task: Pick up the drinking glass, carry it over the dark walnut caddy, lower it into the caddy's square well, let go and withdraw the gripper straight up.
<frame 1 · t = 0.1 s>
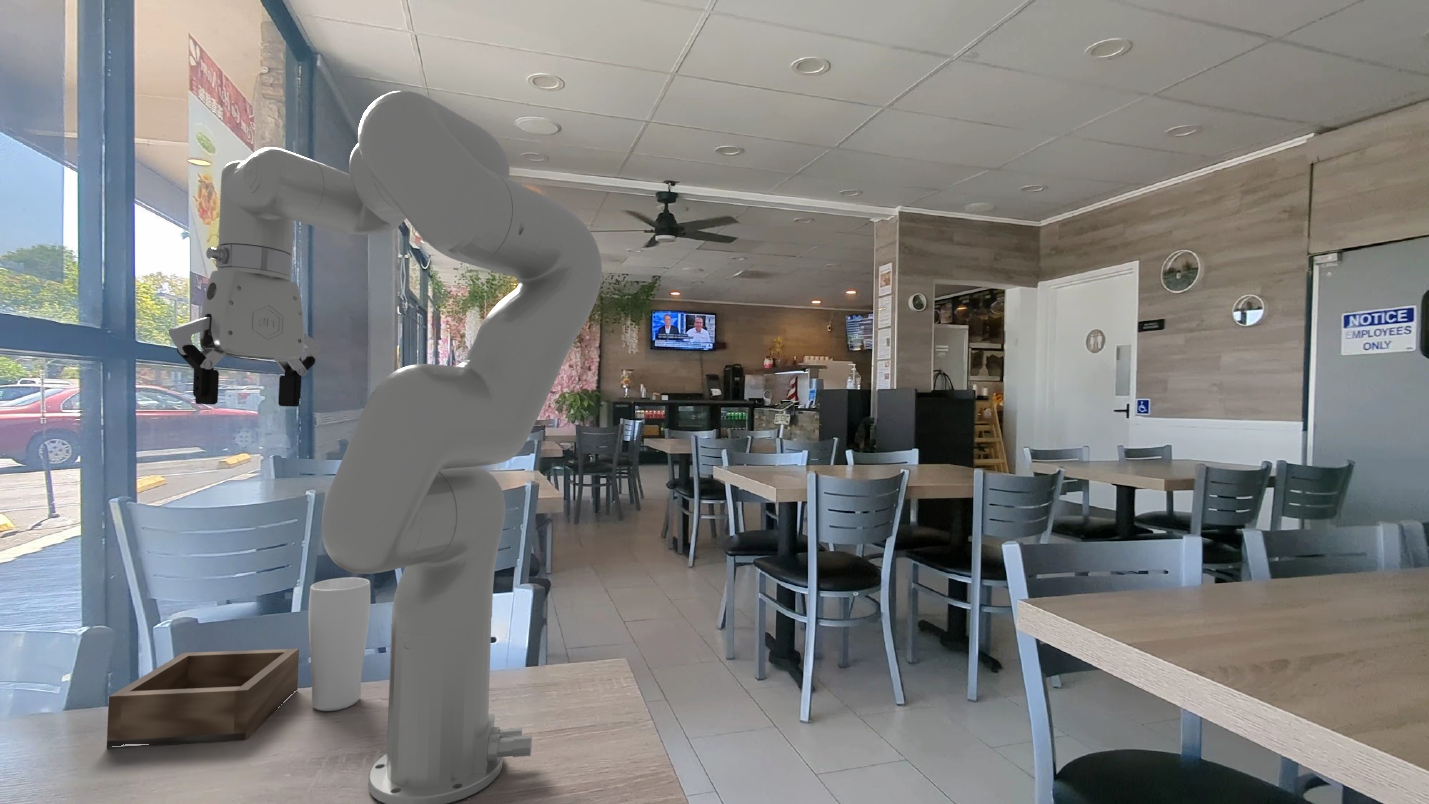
hand: (249, 405, 82), 37 cm above the table, tool pointing down, fingers open, 9 cm apart
drinking glass: (336, 705, 84), on the table
caddy: (211, 716, 80), on the table
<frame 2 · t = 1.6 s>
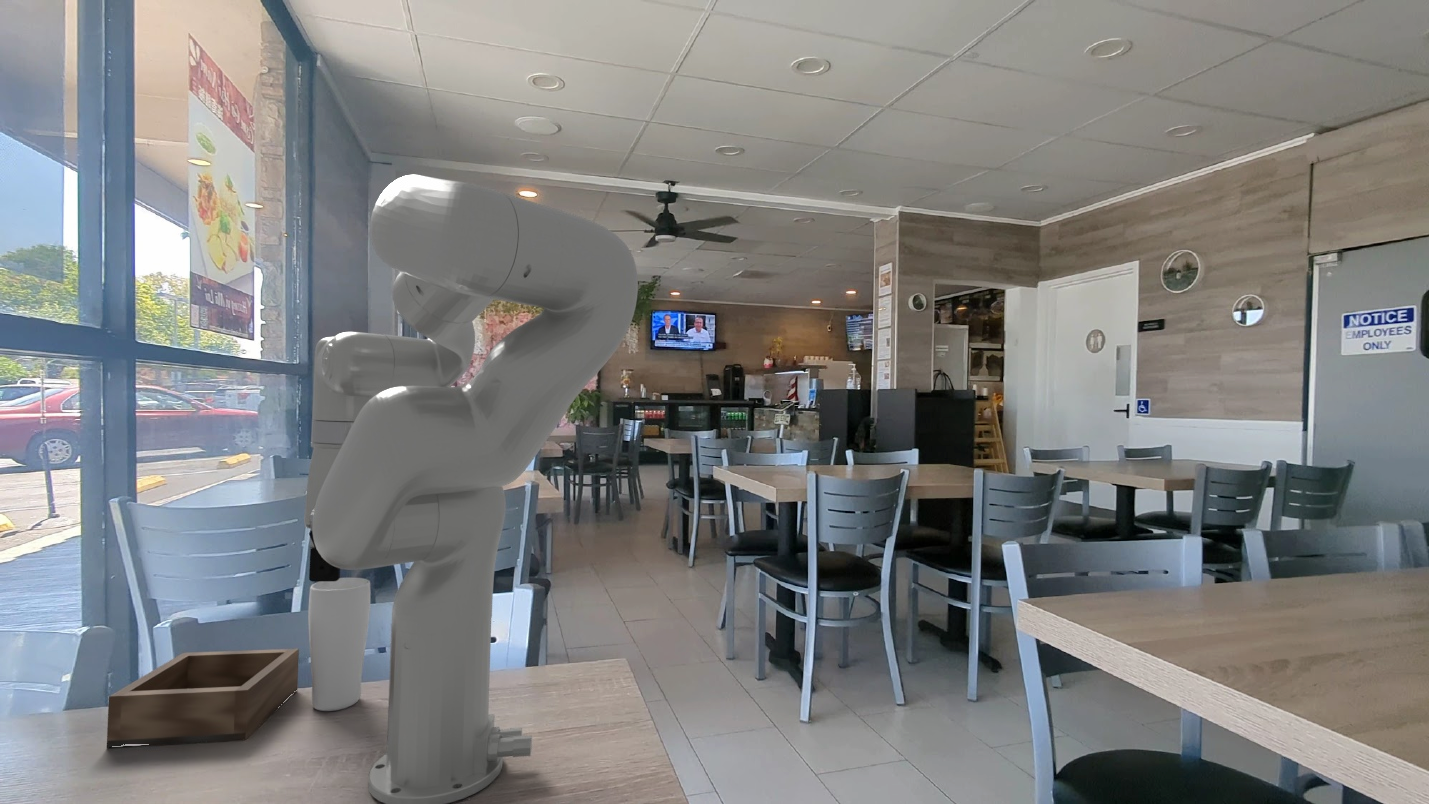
hand: (339, 570, 85), 17 cm above the table, tool pointing down, fingers open, 9 cm apart
nothing on the table moved.
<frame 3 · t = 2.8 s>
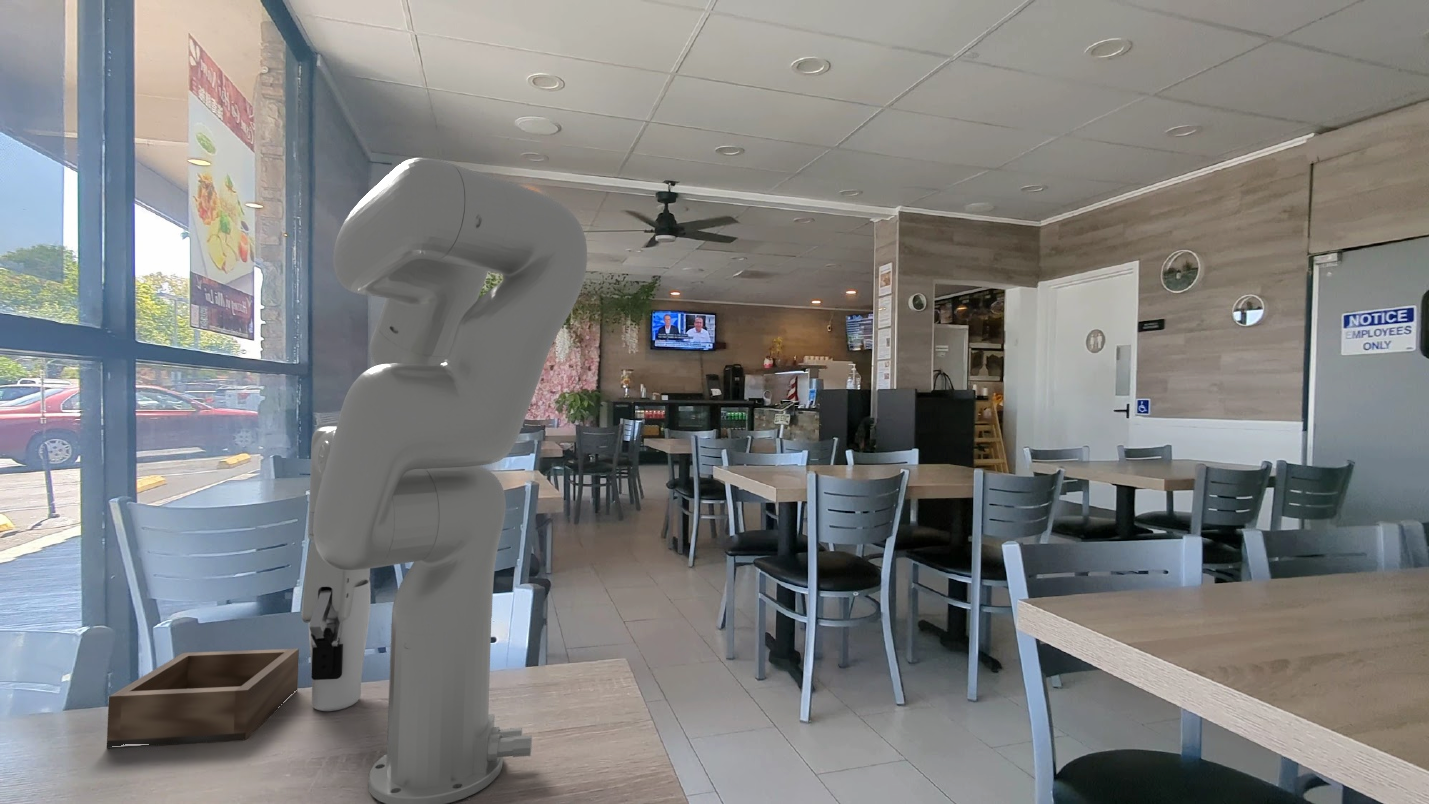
hand: (337, 666, 84), 5 cm above the table, tool pointing down, fingers closed on drinking glass, 6 cm apart
drinking glass: (336, 705, 84), on the table, touching gripper
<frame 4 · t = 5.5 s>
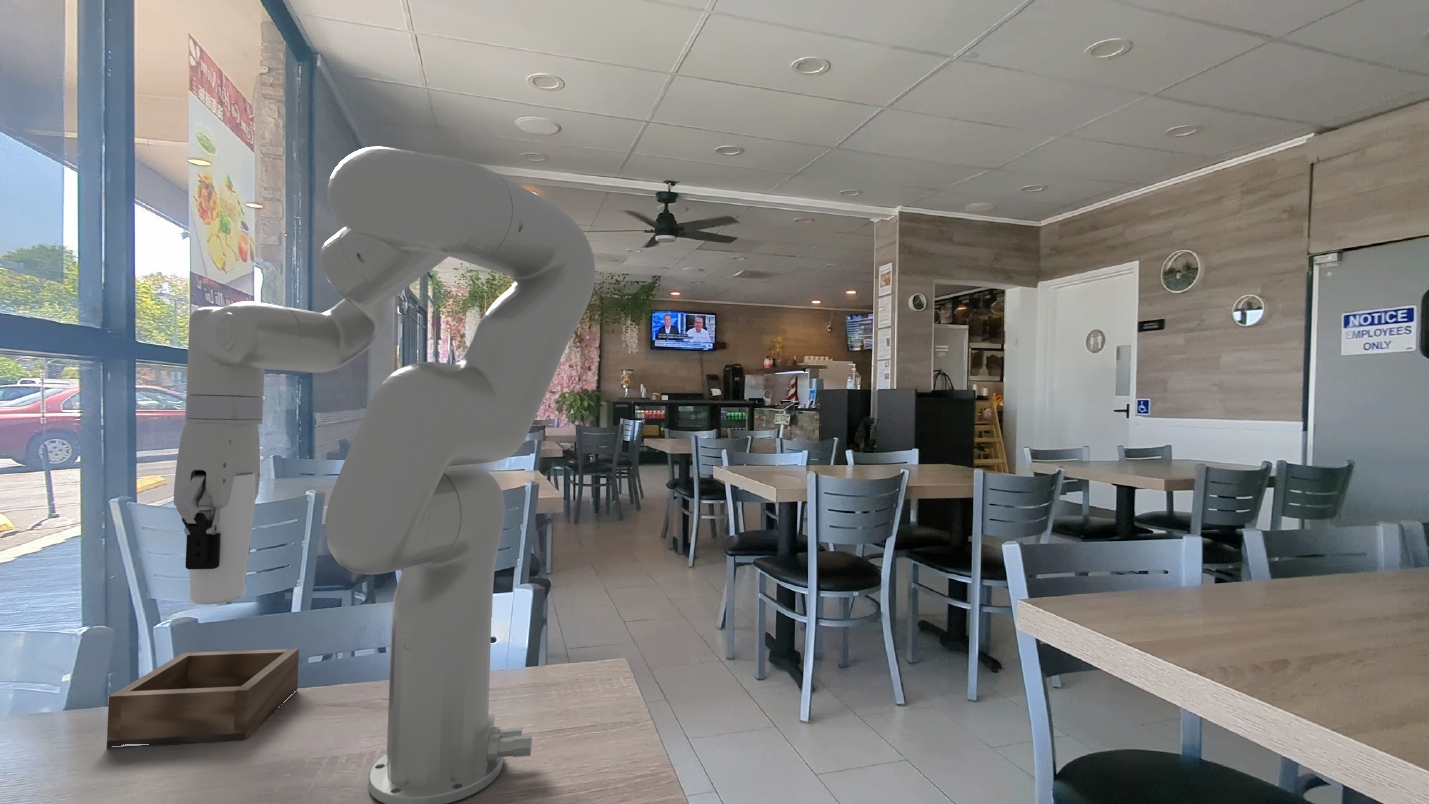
hand: (219, 560, 80), 18 cm above the table, tool pointing down, fingers closed on drinking glass, 6 cm apart
drinking glass: (217, 601, 80), point 14 cm above the table, touching gripper
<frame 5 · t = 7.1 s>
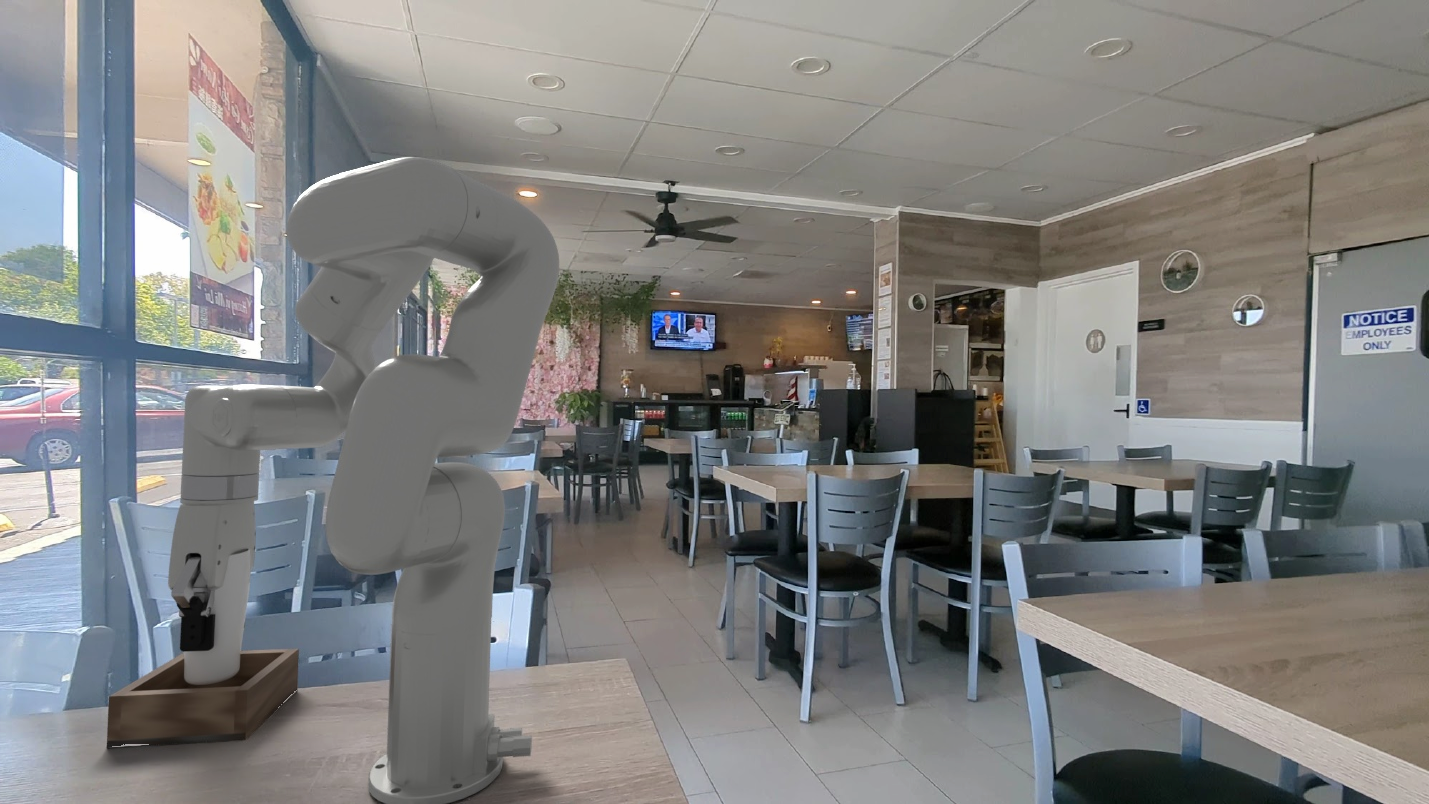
hand: (213, 638, 80), 9 cm above the table, tool pointing down, fingers closed on drinking glass, 6 cm apart
drinking glass: (212, 679, 80), point 4 cm above the table, touching gripper
when the fingers open (6 cm above the table, at t = 8.2 s): drinking glass stays where it is, resting on caddy.
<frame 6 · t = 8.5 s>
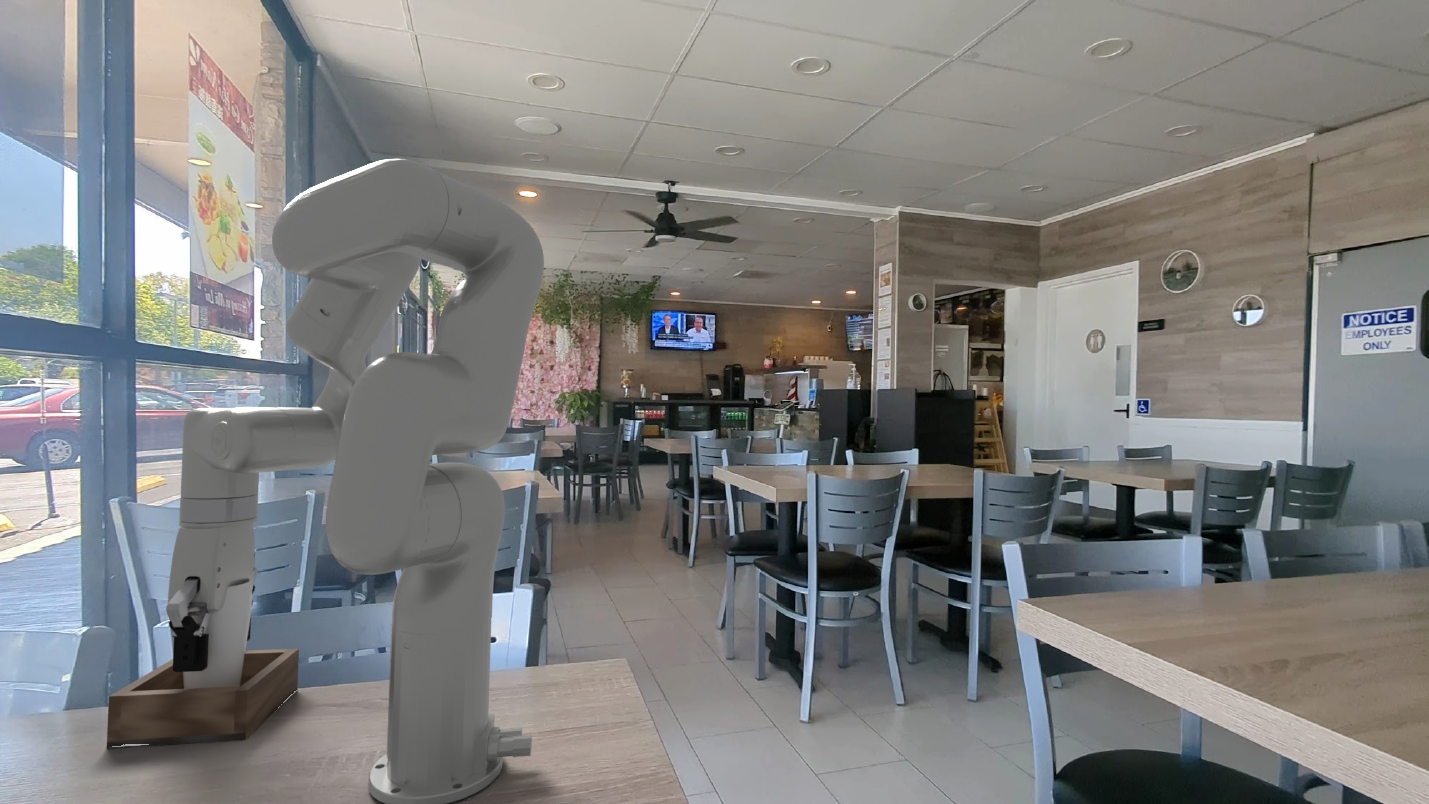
hand: (213, 655, 80), 7 cm above the table, tool pointing down, fingers open, 9 cm apart
drinking glass: (211, 711, 79), point 1 cm above the table, touching caddy
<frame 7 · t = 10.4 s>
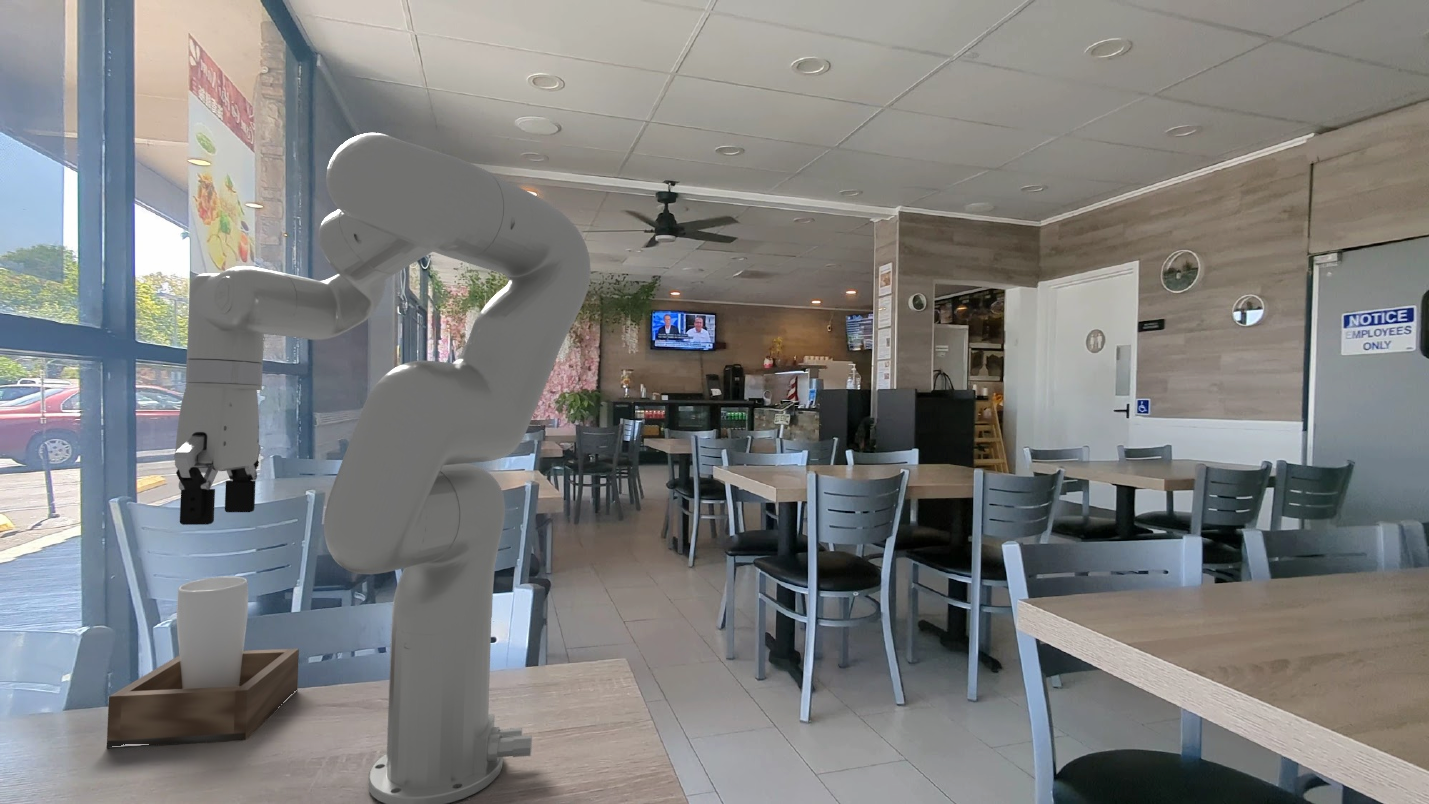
hand: (219, 517, 81), 23 cm above the table, tool pointing down, fingers open, 9 cm apart
nothing on the table moved.
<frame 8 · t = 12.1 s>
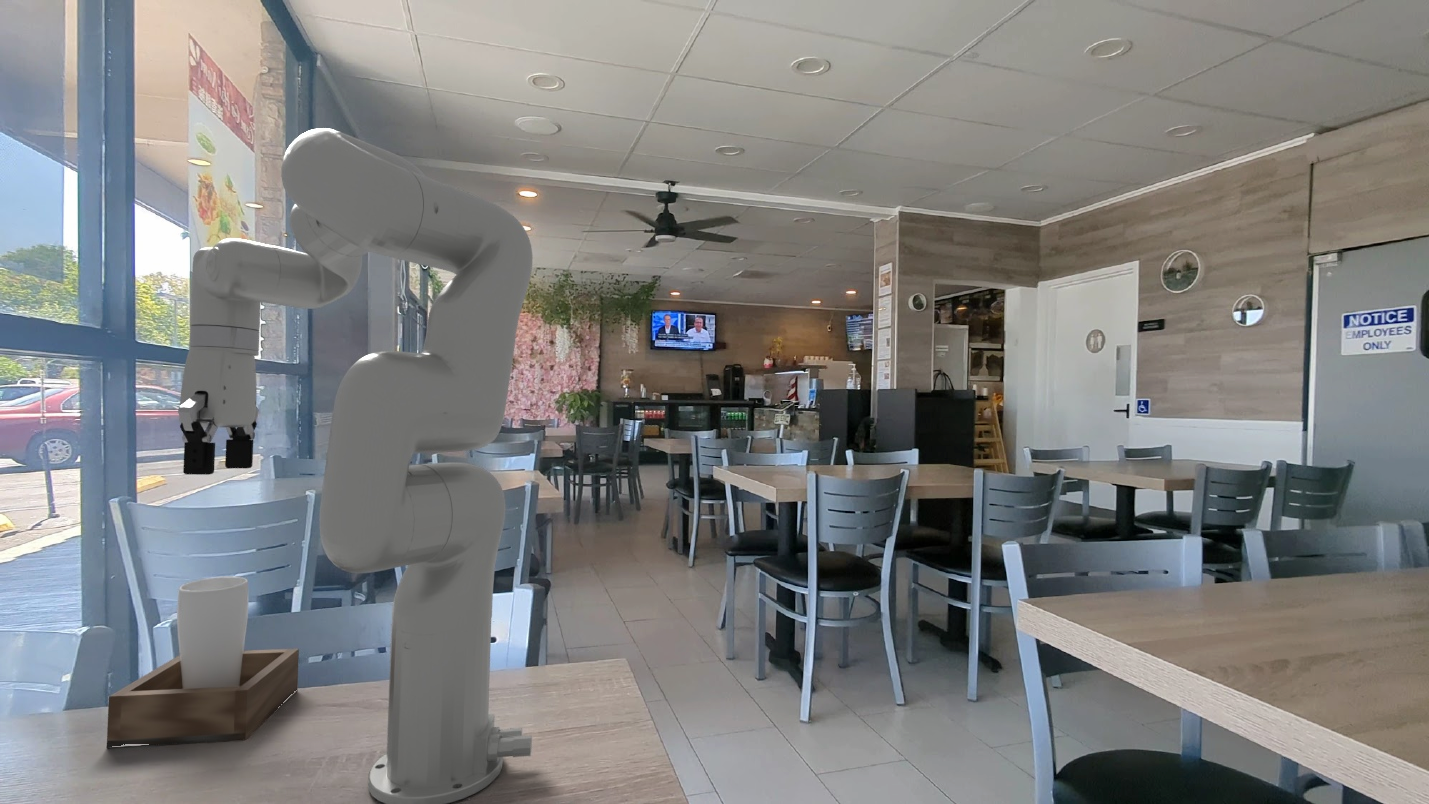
hand: (219, 471, 89), 28 cm above the table, tool pointing down, fingers open, 9 cm apart
nothing on the table moved.
at the end: drinking glass 0.0 cm off-centre on the caddy, point 0.7 cm above the caddy's base; drinking glass tilted 1°; the gripper is holding nothing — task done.
